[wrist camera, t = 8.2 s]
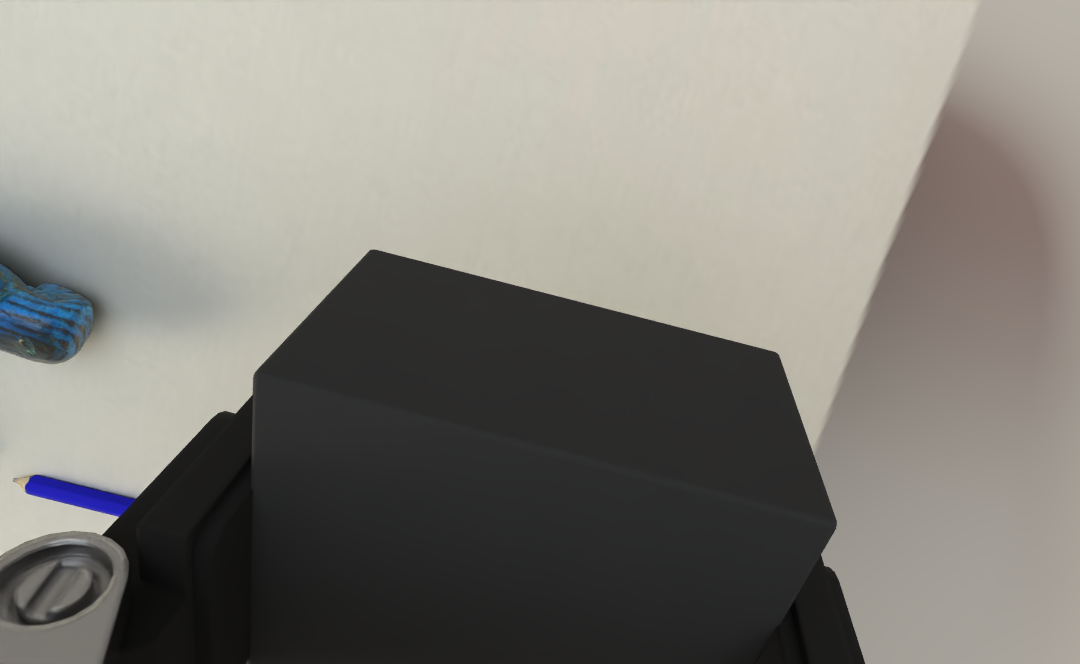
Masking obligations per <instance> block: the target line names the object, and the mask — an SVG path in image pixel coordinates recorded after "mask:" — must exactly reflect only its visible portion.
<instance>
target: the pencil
mask: <svg viewBox="0 0 1080 664" xmlns="http://www.w3.org/2000/svg"><path fill="white" fill-rule="evenodd" d="M13 482H16V483H17V484H18V485H19V486H20V487H21V488H22V489H23V490H24V491H25V492H26V493H27V494H30V495H34V496H38V497H42V498H46V499H50V500H54V501H58V502H62V503H66V504H70V505H74V506H78V507H82V508H86V509H90V510H94V511H98V512H102V513H106V514H110V515H114V516H118V517H120V516H121V515H122V514H123V513H124V511H125V510H126V509H127V508H128V507H129V506H130V505H131V504H132V503H133V502H134V501H135V500H136V499H131V498H127V497H123V496H119V495H115V494H111V493H107V492H103V491H99V490H95V489H91V488H87V487H83V486H79V485H75V484H71V483H67V482H63V481H59V480H55V479H51V478H47V477H43V476H39V475H34V476H30V477H25V478H20V479H16V478H14V479H13Z"/></svg>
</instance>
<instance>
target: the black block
mask: <svg viewBox="0 0 1080 664" xmlns="http://www.w3.org/2000/svg"><path fill="white" fill-rule="evenodd" d="M251 488H252V530H251V577H250V624H249V658H248V664H755V663H756V662H757V660H758V658H759V656H760V655H761V653H762V651H763V650H764V648H765V646H766V644H767V643H768V641H769V639H770V638H771V636H772V634H773V632H774V631H775V629H776V627H777V626H779V625H780V624H781V622H782V620H783V619H784V617H785V615H786V613H787V612H788V610H789V608H790V607H791V605H792V603H793V601H794V600H795V598H796V596H797V595H798V593H799V591H800V589H801V588H802V586H803V584H804V583H805V581H806V579H807V577H808V576H809V574H810V572H811V571H812V569H813V567H814V565H815V564H816V562H817V560H818V559H819V557H820V555H821V553H822V552H823V550H824V548H825V547H826V545H827V543H828V541H829V540H830V538H831V536H832V535H833V533H834V531H835V529H836V526H837V521H836V518H835V515H834V512H833V509H832V507H831V503H830V501H829V498H828V495H827V492H826V489H825V486H824V484H823V480H822V478H821V475H820V472H819V469H818V466H817V463H816V460H815V457H814V455H813V452H812V449H811V446H810V443H809V440H808V437H807V434H806V432H805V429H804V426H803V423H802V420H801V417H800V414H799V411H798V409H797V406H796V403H795V400H794V397H793V394H792V391H791V389H790V386H789V383H788V380H787V377H786V374H785V371H784V368H783V366H782V363H781V360H780V357H779V355H778V354H777V353H776V352H773V351H769V350H765V349H761V348H757V347H753V346H749V345H746V344H742V343H738V342H734V341H730V340H726V339H722V338H718V337H714V336H710V335H707V334H703V333H699V332H695V331H691V330H687V329H683V328H679V327H675V326H671V325H667V324H664V323H660V322H656V321H652V320H648V319H644V318H640V317H636V316H632V315H628V314H625V313H621V312H617V311H613V310H609V309H605V308H601V307H597V306H593V305H589V304H585V303H582V302H578V301H574V300H570V299H566V298H562V297H558V296H554V295H550V294H546V293H543V292H539V291H535V290H531V289H527V288H523V287H519V286H515V285H511V284H507V283H503V282H500V281H496V280H492V279H488V278H484V277H480V276H476V275H472V274H468V273H464V272H460V271H457V270H453V269H449V268H445V267H441V266H437V265H433V264H429V263H425V262H421V261H418V260H414V259H410V258H406V257H402V256H398V255H394V254H390V253H386V252H382V251H378V250H370V251H369V252H368V253H367V254H366V255H365V256H364V257H363V258H362V259H361V260H360V261H359V262H358V264H357V265H356V266H355V267H354V268H353V269H352V270H351V271H350V272H349V273H348V274H347V275H346V276H345V277H344V278H343V279H342V281H341V282H340V283H339V284H338V285H337V286H336V287H335V288H334V289H333V290H332V291H331V292H330V293H329V294H328V295H327V296H326V297H325V299H324V300H323V301H322V302H321V303H320V304H319V305H318V306H317V307H316V308H315V309H314V310H313V311H312V312H311V313H310V314H309V316H308V317H307V318H306V319H305V320H304V321H303V322H302V323H301V324H300V325H299V326H298V327H297V328H296V329H295V330H294V331H293V333H292V334H291V335H290V336H289V337H288V338H287V339H286V340H285V341H284V342H283V343H282V344H281V345H280V346H279V347H278V348H277V349H276V351H275V352H274V353H273V354H272V355H271V356H270V357H269V358H268V359H267V360H266V361H265V362H264V363H263V364H262V365H261V366H260V368H259V369H258V370H257V371H256V372H255V374H254V377H253V416H252V465H251Z"/></svg>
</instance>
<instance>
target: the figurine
mask: <svg viewBox="0 0 1080 664" xmlns="http://www.w3.org/2000/svg"><path fill="white" fill-rule="evenodd" d="M93 323H94V313H93V307H92V304H91V303H90V301H89V300H88V299H87V298H85V297H84V296H81V295H78V294H77V293H76V292H74V291H72V290H70V289H66V288H63V287H62V286H59V285H56V284H42V285H40V286H38V287H36V288H34V287H32V286H26V284H25V283H24V282H23V281H22V280H21V279H20V278H19V277H17V276H16V275H15V274H13V273H12V271H10V270H9V269H8V268H6V267H5V266H3V265H2V264H0V350H1V351H4V352H7V353H11V354H14V355H16V356H19V357H22V358H25V359H28V360H32V361H35V362H41V363H45V364H57V363H61V362H65V361H67V360H69V359H70V358H72V357H73V356H75V355H76V354H77V353H78V352H79V351H80V350H81V348H82V347H83V345H84V343H85V342H86V340H87V338H88V337H89V335H90V332H91V330H92V327H93Z"/></svg>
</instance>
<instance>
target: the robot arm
mask: <svg viewBox="0 0 1080 664" xmlns="http://www.w3.org/2000/svg"><path fill="white" fill-rule="evenodd" d="M252 416H253V395H252V396H251V397H250V398H249V400H248V401H247V402H246V403H245V404H244V405H243V406H242V407H241V408H240V410H239V411H238V412H237V413H236V414H234V413H230V412H227V411H224V412H220V413H218V414H217V415H216V416H214V417H213V418H212V419H211V420H210V421H209V422H208V423H207V424H206V425H205V426H204V427H203V428H202V430H201V431H200V432H199V433H198V434H197V435H196V436H195V437H194V438H193V439H192V440H191V441H190V442H189V443H188V444H187V445H186V447H185V448H184V449H183V450H182V451H181V452H180V453H179V454H178V455H177V456H176V457H175V458H174V459H173V460H172V461H171V463H170V464H169V465H168V466H167V467H166V468H165V469H164V470H163V471H162V472H161V473H160V474H159V475H158V476H157V477H156V478H155V480H154V481H153V482H152V483H151V484H150V485H149V486H148V487H147V488H146V489H145V490H144V491H143V492H142V493H141V494H140V495H139V497H138V498H137V499H136V500H135V501H134V502H133V503H132V504H131V505H130V506H129V507H128V508H127V509H126V510H125V511H124V513H123V514H122V515H121V516H120V517H119V518H118V519H117V520H116V521H115V522H114V523H113V524H112V525H111V526H110V527H109V528H108V530H107V531H106V532H105V533H104V534H103V535H99V534H96V533H90V532H77V531H70V532H63V533H55V534H49V535H45V536H42V537H39V538H36V539H33V540H30V541H26V542H25V543H23V544H21V545H19V546H17V547H15V548H13V549H11V550H9V551H7V552H5V553H4V554H3V555H1V556H0V664H246V662H247V660H248V658H249V624H250V577H251V530H252V488H251V465H252ZM755 664H865V662H864V659H863V655H862V652H861V649H860V646H859V643H858V640H857V636H856V634H855V630H854V627H853V624H852V621H851V618H850V614H849V612H848V608H847V605H846V602H845V599H844V595H843V593H842V589H841V586H840V583H839V580H838V578H837V576H836V574H835V572H834V571H833V570H832V569H831V568H829V567H825V566H824V563H823V560H822V557H821V555H820V557H819V559H818V560H817V562H816V564H815V565H814V567H813V569H812V571H811V572H810V574H809V576H808V577H807V579H806V581H805V583H804V584H803V586H802V588H801V589H800V591H799V593H798V595H797V596H796V598H795V600H794V601H793V603H792V605H791V607H790V608H789V610H788V612H787V613H786V615H785V617H784V619H783V620H782V622H781V624H780V625H779V626H777V627H776V629H775V631H774V632H773V634H772V636H771V638H770V639H769V641H768V643H767V644H766V646H765V648H764V650H763V651H762V653H761V655H760V656H759V658H758V660H757V662H756V663H755Z"/></svg>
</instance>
